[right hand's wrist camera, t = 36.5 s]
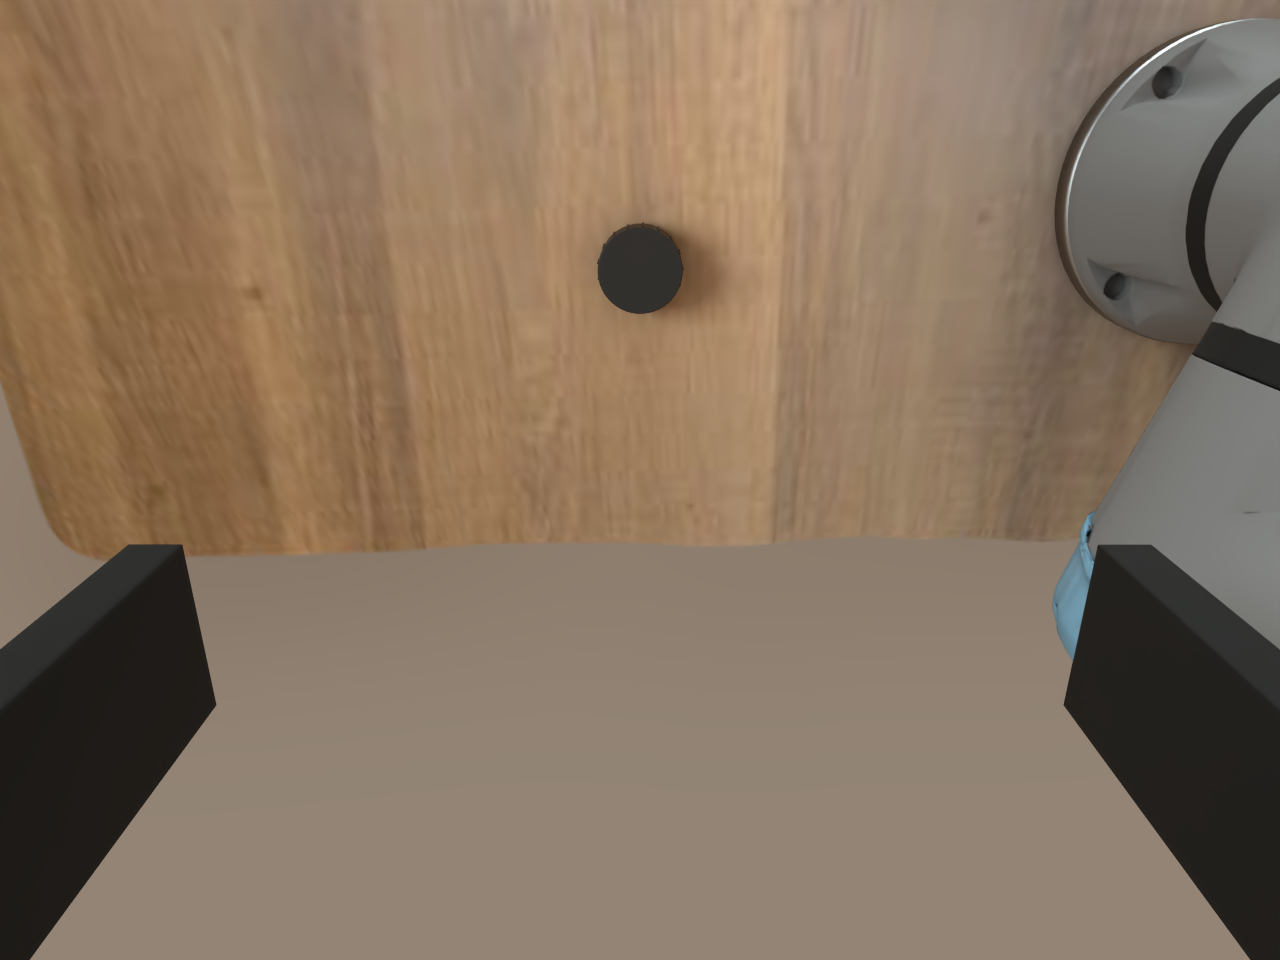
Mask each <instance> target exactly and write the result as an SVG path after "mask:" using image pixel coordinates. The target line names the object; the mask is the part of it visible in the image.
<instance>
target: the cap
mask: <svg viewBox="0 0 1280 960" xmlns="http://www.w3.org/2000/svg"><path fill="white" fill-rule="evenodd" d="M597 264H598V280H599V283H600V286H601V288H602V290H603V292H604V294H605V295H606V297H607V298H608V299H609V300H610V301H611V302H612V303H613V304H614V305H615V306H617V307H618V308H620V309H622V310H624V311H627V312H631V313H637V314H644V313H650V312H654V311H656V310H658V309H660V308H662V307H664V306H665V305H666V304H668V303H669V302H670V301H671V300H672V299H673V297H674V296H675V294H676V293H677V291H678V289H679V286H680V285H681V280H682V270H683V266H682V261H681V257H680V250H679V249H677V247H676V245H675V243H674V241H673V240H672V237H671V236H670V237H669V235H668V234H666V233H665V232H664V231H662V230H661V229H659V227H655V226H652V225H648V224H644V223H642V224H632V225H629V224H628V225H627V226H626V227H623V228H621V229H620V230H618V231H616V232H613V235H612V236H611V237H610V238H609V239H608V240H607V242H606V243H605V244H603V249H602V252H601V255H600V258H599V259H598V262H597Z"/></svg>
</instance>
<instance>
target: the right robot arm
mask: <svg viewBox="0 0 1280 960" xmlns="http://www.w3.org/2000/svg"><path fill="white" fill-rule="evenodd" d="M1055 231H1056V238H1057V244H1058V249H1059V253H1060V257H1061V259H1062V262H1063V265H1064V268H1065V270H1066V272H1067V274H1068V276H1069V278H1070V280H1071V282H1072V284H1073V285H1074V287H1075V288H1076V290H1077V291H1078V293H1079V294H1080V295H1081V296H1082V298H1083V299H1084V300H1085V301H1086V302H1087V303H1088V304H1089V305H1090V306H1091V307H1092V308H1093V309H1094V310H1095V311H1096V312H1098V313H1099V314H1100V315H1102V316H1103V317H1104V318H1106V319H1107V320H1109V321H1111V322H1112V323H1114V324H1116V325H1118V326H1120V327H1122V328H1125V329H1127V330H1129V331H1132V332H1134V333H1137V334H1139V335H1141V336H1144V337H1148V338H1151V339H1154V340H1159V341H1164V342H1171V343H1180V344H1198V346H1197V347H1196V349H1195V351H1194V352H1193V353H1192V354H1194V355H1191V356H1190V357H1189V359H1188V361H1187V362H1186V364H1185V366H1184V367H1183V369H1182V370H1181V372H1180V374H1179V375H1178V377H1177V379H1176V380H1175V382H1174V384H1173V385H1172V387H1171V388H1170V390H1169V392H1168V393H1167V395H1166V397H1165V398H1164V400H1163V402H1162V403H1161V405H1160V406H1159V408H1158V410H1157V411H1156V413H1155V415H1154V416H1153V418H1152V420H1151V421H1150V423H1149V424H1148V426H1147V428H1146V429H1145V431H1144V433H1143V434H1142V436H1141V438H1140V439H1139V441H1138V442H1137V444H1136V446H1135V447H1134V449H1133V451H1132V452H1131V454H1130V456H1129V457H1128V459H1127V460H1126V462H1125V464H1124V465H1123V467H1122V469H1121V470H1120V472H1119V474H1118V475H1117V477H1116V478H1115V480H1114V482H1113V483H1112V485H1111V487H1110V488H1109V490H1108V492H1107V493H1106V495H1105V496H1104V498H1103V500H1102V501H1101V503H1100V505H1099V506H1098V508H1097V510H1096V511H1094V512H1092V513H1090V514H1089V515H1088V517H1087V518H1086V520H1085V521H1084V523H1083V525H1082V528H1081V532H1080V542H1079V544H1078V546H1077V547H1076V549H1075V551H1074V553H1073V555H1072V557H1071V559H1070V561H1069V563H1068V564H1067V566H1066V568H1065V570H1064V572H1063V574H1062V576H1061V577H1060V579H1059V581H1058V583H1057V585H1056V589H1055V592H1054V596H1053V611H1054V616H1055V620H1056V622H1057V631H1058V634H1059V637H1060V639H1061V641H1062V643H1063V645H1064V647H1065V649H1066V651H1067V653H1068V654H1069V656H1070V658H1071V659H1072V661H1073V663H1072V668H1071V673H1070V677H1069V682H1068V687H1067V692H1066V696H1065V701H1064V706H1065V708H1066V709H1067V710H1068V712H1069V713H1070V714H1071V716H1072V717H1073V718H1074V720H1075V721H1076V723H1077V724H1078V725H1079V727H1080V728H1081V729H1082V731H1083V732H1084V733H1085V735H1086V736H1087V738H1088V739H1089V740H1090V742H1091V743H1092V744H1093V746H1094V747H1095V748H1096V750H1097V751H1098V753H1099V754H1100V755H1101V757H1102V758H1103V759H1104V761H1105V762H1106V764H1107V765H1108V766H1109V768H1110V769H1111V770H1112V772H1113V773H1114V774H1115V776H1116V777H1117V778H1118V780H1119V781H1120V783H1121V784H1122V785H1123V787H1124V788H1125V789H1126V791H1127V792H1128V794H1129V795H1130V796H1131V798H1132V799H1133V800H1134V802H1135V803H1136V804H1137V806H1138V807H1139V809H1140V810H1141V811H1142V813H1143V814H1144V815H1145V817H1146V818H1147V819H1148V821H1149V822H1150V824H1151V825H1152V826H1153V828H1154V829H1155V830H1156V832H1157V833H1158V834H1159V836H1160V837H1161V839H1162V840H1163V841H1164V843H1165V844H1166V845H1167V847H1168V848H1169V849H1170V851H1171V852H1172V854H1173V855H1174V856H1175V858H1176V859H1177V860H1178V862H1179V863H1180V864H1181V866H1182V867H1183V868H1184V870H1185V871H1186V873H1187V874H1188V875H1189V877H1190V878H1191V879H1192V881H1193V882H1194V883H1195V885H1196V886H1197V888H1198V889H1199V890H1200V892H1201V893H1202V894H1203V896H1204V897H1205V898H1206V900H1207V901H1208V903H1209V904H1210V905H1211V907H1212V908H1213V909H1214V911H1215V912H1216V914H1217V915H1218V916H1219V918H1220V919H1221V920H1222V922H1223V923H1224V924H1225V926H1226V927H1227V929H1228V930H1229V931H1230V933H1231V934H1232V935H1233V937H1234V938H1235V939H1236V941H1237V942H1238V943H1239V945H1240V946H1241V948H1242V949H1243V950H1244V952H1245V953H1246V954H1247V956H1248V957H1249V958H1250V960H1280V19H1274V18H1252V19H1243V20H1236V21H1230V22H1225V23H1219V24H1215V25H1210V26H1206V27H1202V28H1199V29H1196V30H1193V31H1190V32H1187V33H1185V34H1182V35H1180V36H1178V37H1175V38H1173V39H1171V40H1169V41H1167V42H1165V43H1164V44H1162V45H1160V46H1158V47H1156V48H1155V49H1153V50H1152V51H1150V52H1149V53H1147V54H1146V55H1144V56H1143V57H1141V58H1140V59H1139V60H1137V61H1136V62H1135V63H1134V64H1132V65H1131V66H1130V67H1129V68H1127V69H1126V70H1125V71H1124V72H1123V73H1122V74H1121V75H1120V76H1119V77H1118V78H1117V79H1115V80H1114V82H1113V83H1112V84H1111V85H1110V86H1109V87H1108V88H1107V89H1106V90H1105V91H1104V92H1103V94H1102V95H1101V96H1100V97H1099V99H1098V100H1097V101H1096V103H1095V104H1094V105H1093V106H1092V108H1091V109H1090V111H1089V112H1088V114H1087V116H1086V117H1085V119H1084V120H1083V122H1082V123H1081V125H1080V127H1079V129H1078V131H1077V133H1076V134H1075V136H1074V138H1073V141H1072V143H1071V145H1070V147H1069V150H1068V152H1067V155H1066V158H1065V161H1064V163H1063V166H1062V170H1061V174H1060V178H1059V182H1058V187H1057V194H1056V202H1055ZM1195 355H1196V356H1195ZM215 706H216V701H215V696H214V692H213V687H212V682H211V677H210V673H209V668H208V663H207V659H206V654H205V649H204V645H203V640H202V635H201V631H200V626H199V621H198V617H197V612H196V607H195V602H194V598H193V593H192V588H191V584H190V579H189V574H188V570H187V565H186V560H185V556H184V551H183V546H182V545H128V546H126V547H125V548H124V549H123V550H121V551H120V552H119V553H118V554H117V555H115V556H114V557H113V558H112V559H110V560H109V561H108V562H107V563H106V564H104V565H103V566H102V567H101V568H99V569H98V570H97V571H96V572H95V573H93V574H92V575H91V576H90V577H88V578H87V579H86V580H85V581H84V582H82V583H81V584H80V585H79V586H77V587H76V588H75V589H74V590H72V591H71V592H70V593H69V594H68V595H66V596H65V597H64V598H63V599H62V600H60V601H59V602H58V603H57V604H55V605H54V606H53V607H52V608H50V609H49V610H48V611H47V612H46V613H44V614H43V615H42V616H41V617H39V618H38V619H37V620H36V621H34V622H33V623H32V624H31V625H30V626H28V627H27V628H26V629H25V630H23V631H22V632H21V633H20V634H19V635H17V636H16V637H15V638H14V639H12V640H11V641H10V642H9V643H8V644H6V645H5V646H4V647H3V648H1V649H0V960H30V959H31V957H32V956H33V954H34V953H35V952H36V950H37V949H38V948H39V946H40V945H41V943H42V942H43V941H44V939H45V938H46V937H47V935H48V934H49V933H50V931H51V930H52V929H53V927H54V926H55V924H56V923H57V922H58V920H59V919H60V918H61V916H62V915H63V914H64V912H65V911H66V909H67V908H68V907H69V905H70V904H71V903H72V901H73V900H74V898H75V897H76V896H77V894H78V893H79V892H80V890H81V889H82V888H83V886H84V885H85V884H86V882H87V881H88V879H89V878H90V877H91V875H92V874H93V873H94V871H95V870H96V868H97V867H98V866H99V864H100V863H101V862H102V860H103V859H104V858H105V856H106V855H107V853H108V852H109V851H110V849H111V848H112V847H113V845H114V844H115V843H116V841H117V840H118V839H119V837H120V836H121V834H122V833H123V832H124V830H125V829H126V828H127V826H128V825H129V823H130V822H131V821H132V819H133V818H134V817H135V815H136V814H137V813H138V811H139V810H140V808H141V807H142V806H143V804H144V803H145V802H146V800H147V799H148V798H149V796H150V795H151V794H152V792H153V791H154V789H155V788H156V787H157V785H158V784H159V782H160V781H161V780H162V779H163V777H164V776H165V774H166V773H167V772H168V770H169V769H170V768H171V766H172V765H173V764H174V762H175V761H176V759H177V758H178V757H179V755H180V754H181V753H182V751H183V750H184V749H185V747H186V746H187V744H188V743H189V742H190V740H191V739H192V738H193V736H194V735H195V733H196V732H197V731H198V729H199V728H200V727H201V725H202V724H203V723H204V721H205V720H206V718H207V717H208V716H209V714H210V713H211V712H212V710H213V709H214V708H215Z"/></svg>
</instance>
